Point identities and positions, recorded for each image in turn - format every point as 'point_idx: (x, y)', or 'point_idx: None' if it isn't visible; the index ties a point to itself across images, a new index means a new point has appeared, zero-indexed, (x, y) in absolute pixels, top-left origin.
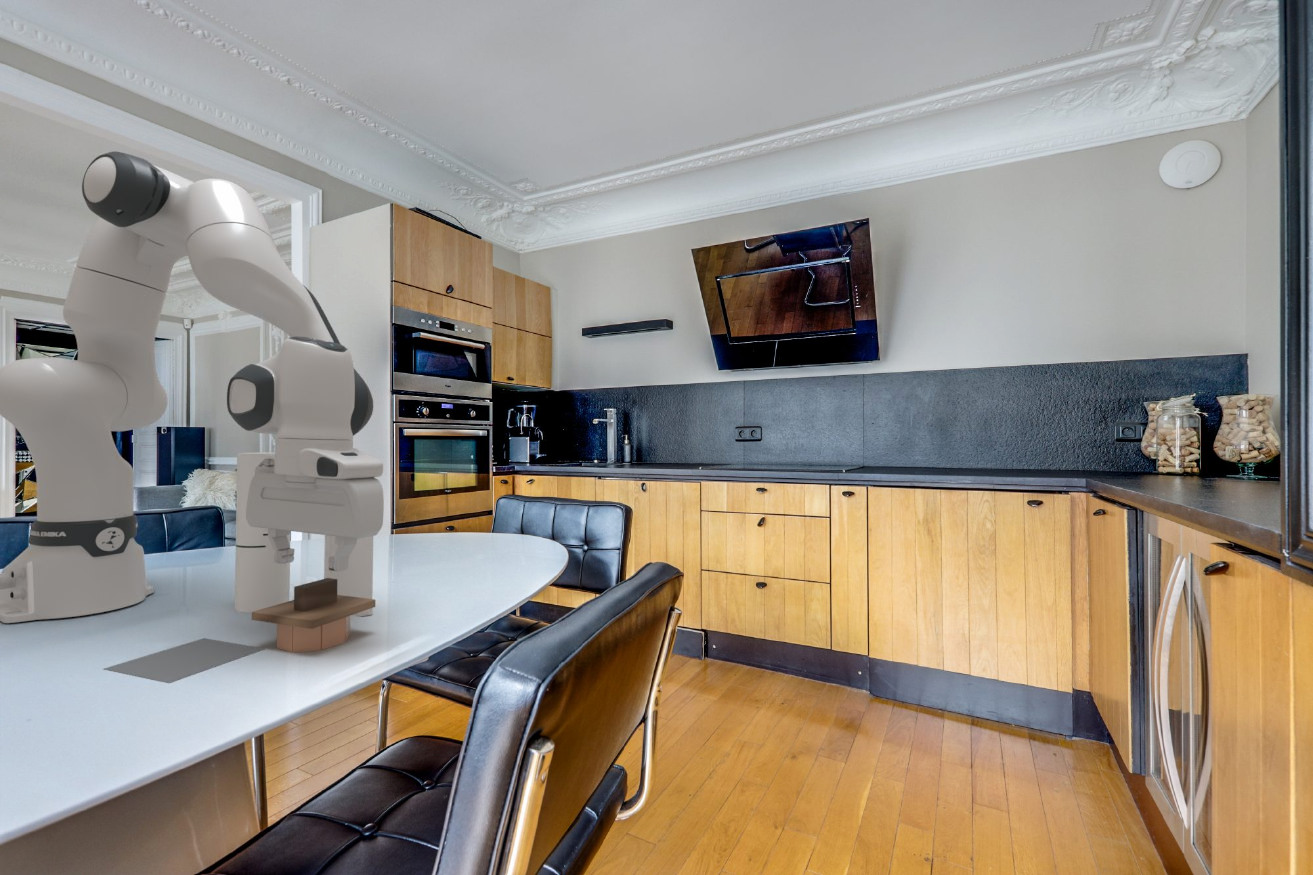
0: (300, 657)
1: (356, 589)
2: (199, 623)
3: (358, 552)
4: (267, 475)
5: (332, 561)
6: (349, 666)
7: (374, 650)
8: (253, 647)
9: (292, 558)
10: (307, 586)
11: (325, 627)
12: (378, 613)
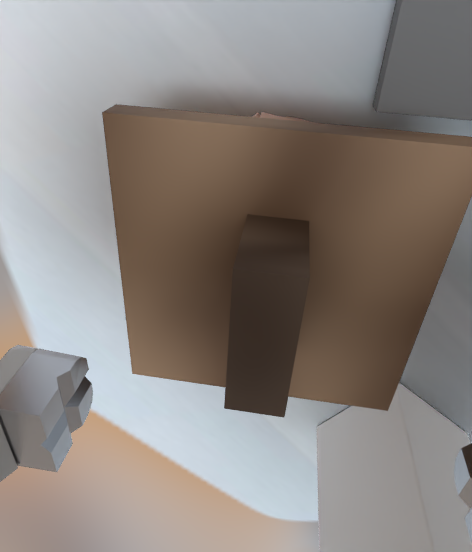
0: None
1: (349, 480)
2: None
3: None
4: None
5: (17, 386)
6: (58, 110)
7: (104, 229)
8: (433, 110)
9: (460, 481)
10: (245, 294)
11: None
12: (310, 436)
